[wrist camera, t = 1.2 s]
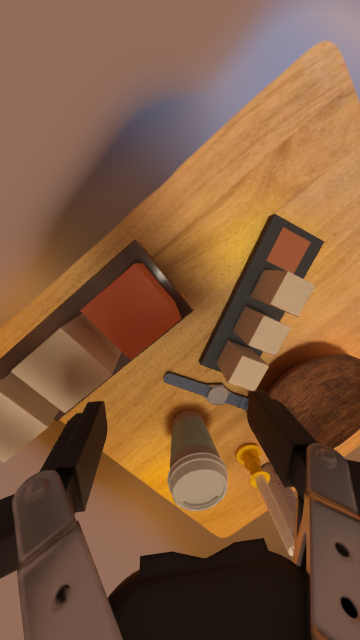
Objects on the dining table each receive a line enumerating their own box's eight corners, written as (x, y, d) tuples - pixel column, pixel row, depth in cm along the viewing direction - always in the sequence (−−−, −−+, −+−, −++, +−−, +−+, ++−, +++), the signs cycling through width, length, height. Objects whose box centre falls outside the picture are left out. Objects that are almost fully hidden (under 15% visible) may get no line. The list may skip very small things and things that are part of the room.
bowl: (367, 391, 41) (395, 408, 36) (279, 454, 43) (294, 478, 38) (323, 321, 35) (349, 330, 31) (225, 397, 38) (234, 416, 33)
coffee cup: (157, 432, 38) (156, 505, 27) (178, 397, 37) (187, 458, 25) (196, 446, 40) (211, 520, 29) (218, 413, 38) (243, 476, 27)
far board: (198, 360, 35) (209, 385, 28) (269, 216, 30) (304, 201, 23) (243, 376, 37) (263, 404, 30) (316, 242, 32) (363, 236, 24)
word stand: (94, 362, 33) (17, 482, 15) (56, 327, 31) (-90, 417, 13) (179, 291, 31) (208, 331, 13) (145, 249, 29) (123, 226, 11)
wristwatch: (256, 415, 39) (258, 419, 38) (160, 385, 35) (160, 388, 34) (266, 397, 38) (269, 401, 37) (169, 364, 34) (169, 367, 34)
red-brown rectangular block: (138, 331, 19) (130, 360, 13) (104, 295, 18) (79, 310, 12) (174, 301, 19) (182, 318, 13) (142, 262, 17) (134, 262, 12)
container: (254, 470, 43) (301, 573, 29) (272, 458, 43) (329, 557, 29) (264, 482, 45) (314, 586, 30) (282, 471, 44) (341, 570, 30)
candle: (232, 448, 41) (273, 554, 26) (256, 439, 41) (311, 539, 26) (239, 466, 43) (282, 575, 28) (262, 457, 43) (318, 561, 28)
